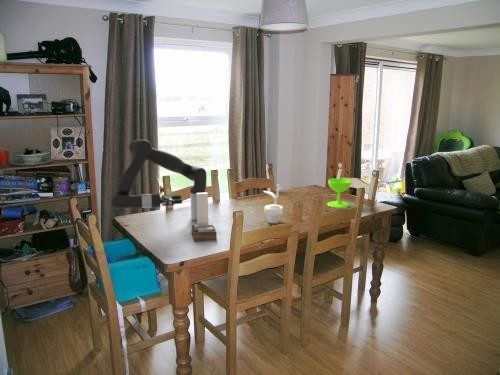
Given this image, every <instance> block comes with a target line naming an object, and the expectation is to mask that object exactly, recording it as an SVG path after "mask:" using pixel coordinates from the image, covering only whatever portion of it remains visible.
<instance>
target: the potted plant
mask: <svg viewBox="0 0 500 375" xmlns="http://www.w3.org/2000/svg"><path fill="white" fill-rule="evenodd" d="M276 186H277V189H276V190H275V191H276V193H274V192H272V191H268V190H263V193H264V194H267V195H268V196H270V197H271V198H272V199H274V203H272V204H267V205H264V215H265V216H266V218H267V219H266V220H267V222H268V223H270V224H273V223H275V224H278V223H279V222H280V221H281V220H280V219H281V217H282V215H283V214H284V206H283V205H279V204H277V200H278V199H277V198H278V197H279V196H280V195H279V193H280V189H282V187H281V184H279V183H277V184H276Z"/></svg>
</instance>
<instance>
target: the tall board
mask: <svg viewBox="0 0 500 375" xmlns="http://www.w3.org/2000/svg"><path fill="white" fill-rule="evenodd" d="M208 197H209V195H208V192H206V191H205V193H196V200H197V220H196V225H200V224H209V198H208Z"/></svg>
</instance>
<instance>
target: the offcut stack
mask: <svg viewBox="0 0 500 375" xmlns="http://www.w3.org/2000/svg"><path fill="white" fill-rule="evenodd" d="M193 225H194V230H198V232H210V231H213V226H214V224H213V223H208V224H200V225H197V224H193Z"/></svg>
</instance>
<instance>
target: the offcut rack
mask: <svg viewBox="0 0 500 375" xmlns="http://www.w3.org/2000/svg"><path fill="white" fill-rule="evenodd" d="M194 225H195V224H191V235H192V240H193V242H194V243H199V242H210V241H211V242H213V241H217V230H216V228H215V226H214V225H213V231H210V232H198V230H194Z"/></svg>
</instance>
